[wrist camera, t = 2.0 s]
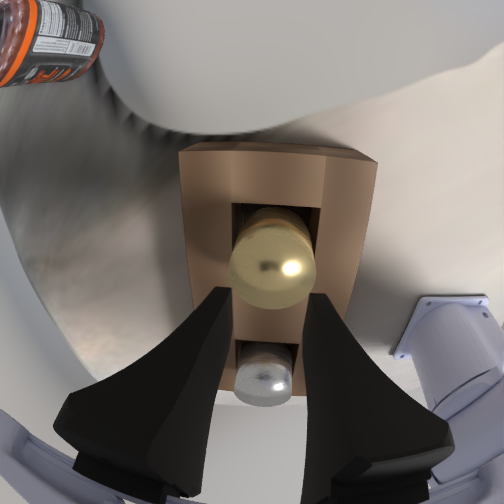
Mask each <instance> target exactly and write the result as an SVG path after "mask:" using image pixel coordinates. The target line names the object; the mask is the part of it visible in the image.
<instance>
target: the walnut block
mask: <svg viewBox="0 0 504 504" xmlns="http://www.w3.org/2000/svg"><path fill="white" fill-rule="evenodd" d="M377 164H378V162H376V161H374V160H373V159H371V158H369V157H368V156H366V155H364V154H363V153H361V152H359V151H358V150H350V149H342V148H334V147H324V146H314V145H302V144H288V143H270V142H199V143H196V144H194V145H192V146H190V147H187V148H185V149H183V150H181V151H179V171H180V186H181V200H182V212H183V223H184V233H185V243H186V252H187V261H188V269H189V277H190V285H191V292H192V300H193V307H194V310H195V309H196V308H197V307H198V306H199V305H200V303H201V302H202V301H203V300H204V299H205V298H206V296H207V295H208V294H209V293H210V292H211V290H212V289H213V288H214V287H216V286H218V287H230V288H232V287H231V284H230V282H229V278H228V265H229V261H230V258H231V255H232V252H233V249H234V246H235V243H236V240H237V237H238V234H239V231H240V228H241V226H242V203H255V204H274V205H290V206H304V207H311V211H310V221H309V234H310V239H311V245H312V250H313V255H314V261H315V266H316V280H315V283H314V286H313V288H312V290H311V291H310V293H326V295H327V296H328V297H329V299H330V301H331V302H332V304H333V306H334V307H335V309H336V311H337V312H338V314H339V315H340V317H341V319H342V320H343V322H344V319H345V315H346V312H347V309H348V305H349V301H350V298H351V294H352V291H353V287H354V283H355V279H356V275H357V271H358V267H359V263H360V258H361V254H362V250H363V245H364V240H365V236H366V231H367V226H368V221H369V215H370V210H371V204H372V198H373V192H374V186H375V179H376V172H377ZM308 299H309V294H308V295H307V296H306V297H305V298H304V299H303V300H301V301H300V302H299V303H297V304H295V305H293V306H290V307H287V308H283V309H263V308H259V307H256V306H253V305H251V304H249V303H247V302H245V301H244V300H243V299H241V298H240V297H239V296H238V295H237V294H236V293H235V291H234V290H233V288H232V310H233V331H232V337H231V343H230V349H229V353H228V356H227V360H226V363H225V367H224V370H223V374H222V377H221V380H220V384H219V387H218V390H226V391H234V386H235V380H236V375H237V369H238V363H239V358H240V352H241V350H242V348H243V347H244V346H245V345H246V344H248V343H250V342H244V341H242V340H249V341H262V342H277V343H292V345H286V344H284V345H285V346H287V347H288V348H289V350H290V351H291V354H292V394H291V396H306V385H305V375H304V366H303V356H302V335H303V327H304V321H305V316H306V310H307V305H308Z"/></svg>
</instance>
